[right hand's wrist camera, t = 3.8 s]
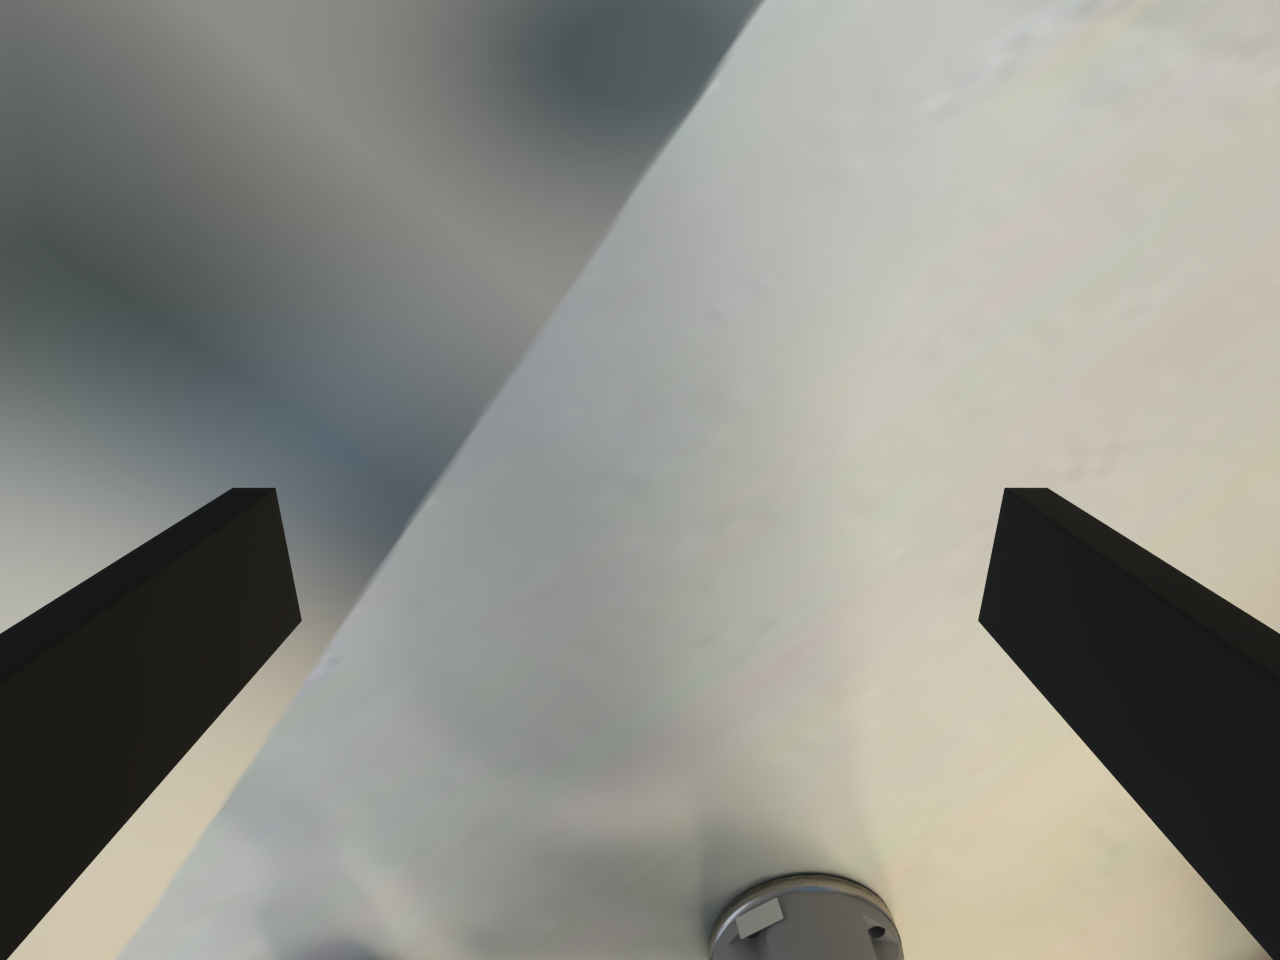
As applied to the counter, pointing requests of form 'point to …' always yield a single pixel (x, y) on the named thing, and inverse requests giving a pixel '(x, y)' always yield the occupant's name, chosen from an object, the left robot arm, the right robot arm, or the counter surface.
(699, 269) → the counter surface
